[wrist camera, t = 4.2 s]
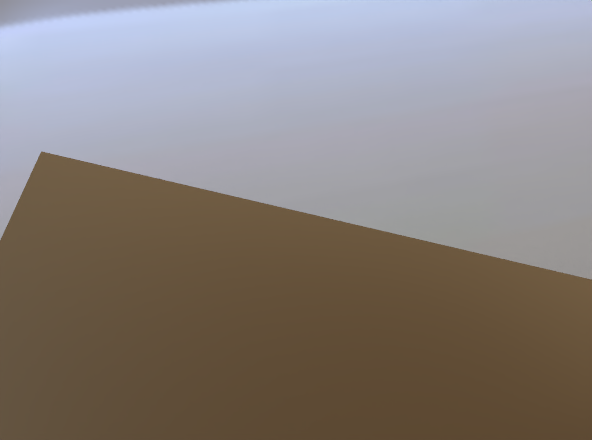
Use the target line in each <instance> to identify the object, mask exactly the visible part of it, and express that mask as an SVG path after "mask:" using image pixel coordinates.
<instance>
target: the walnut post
mask: <svg viewBox="0 0 592 440" xmlns="http://www.w3.org/2000/svg"><path fill="white" fill-rule="evenodd" d="M0 440H592V280H590V279H586V278H582V277H578V276H573V275H569V274H565V273H560V272H556V271H552V270H548V269H543V268H539V267H535V266H530V265H526V264H522V263H517V262H513V261H509V260H505V259H500V258H496V257H492V256H487V255H483V254H479V253H475V252H470V251H466V250H462V249H457V248H453V247H449V246H444V245H440V244H436V243H432V242H427V241H423V240H419V239H414V238H410V237H406V236H402V235H397V234H393V233H389V232H384V231H380V230H376V229H372V228H367V227H363V226H359V225H354V224H350V223H346V222H341V221H337V220H333V219H329V218H324V217H320V216H316V215H311V214H307V213H303V212H299V211H294V210H290V209H286V208H281V207H277V206H273V205H268V204H264V203H260V202H256V201H251V200H247V199H243V198H238V197H234V196H230V195H226V194H221V193H217V192H213V191H208V190H204V189H200V188H195V187H191V186H187V185H183V184H178V183H174V182H170V181H165V180H161V179H157V178H153V177H148V176H144V175H140V174H135V173H131V172H127V171H123V170H118V169H114V168H110V167H105V166H101V165H97V164H92V163H88V162H84V161H80V160H75V159H71V158H67V157H62V156H58V155H54V154H50V153H45V152H41V153H40V156H39V158H38V160H37V162H36V164H35V166H34V169H33V171H32V173H31V175H30V177H29V179H28V182H27V184H26V186H25V188H24V190H23V192H22V195H21V197H20V199H19V201H18V203H17V205H16V208H15V210H14V212H13V214H12V216H11V219H10V221H9V223H8V225H7V227H6V229H5V232H4V234H3V236H2V238H1V240H0Z"/></svg>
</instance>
